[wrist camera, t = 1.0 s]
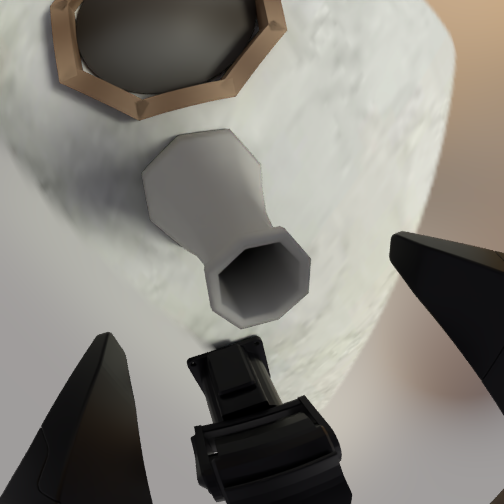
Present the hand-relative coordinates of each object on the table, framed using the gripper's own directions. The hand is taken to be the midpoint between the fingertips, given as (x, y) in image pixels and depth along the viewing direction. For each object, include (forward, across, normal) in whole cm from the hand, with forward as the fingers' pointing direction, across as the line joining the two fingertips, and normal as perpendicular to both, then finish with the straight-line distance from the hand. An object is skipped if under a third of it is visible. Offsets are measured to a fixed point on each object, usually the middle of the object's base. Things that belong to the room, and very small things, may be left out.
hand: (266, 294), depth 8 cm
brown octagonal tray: (+10, 0, -11) cm, 15 cm away
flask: (+10, 0, 0) cm, 11 cm away
